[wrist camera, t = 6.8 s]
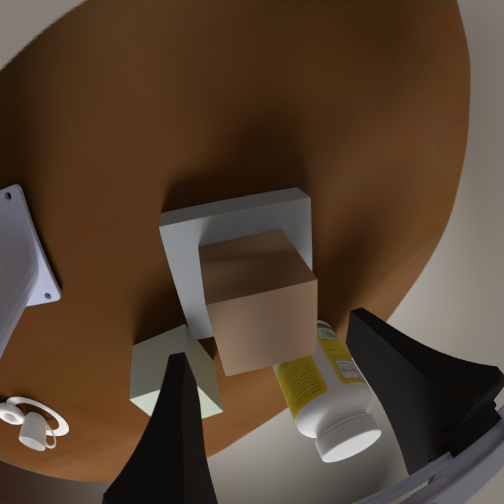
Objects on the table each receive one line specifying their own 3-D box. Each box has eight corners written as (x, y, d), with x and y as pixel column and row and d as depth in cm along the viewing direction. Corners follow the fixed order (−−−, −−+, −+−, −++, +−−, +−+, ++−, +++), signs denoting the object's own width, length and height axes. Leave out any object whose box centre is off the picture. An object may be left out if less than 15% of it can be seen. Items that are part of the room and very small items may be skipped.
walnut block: (213, 312, 18) (226, 376, 13) (197, 246, 16) (205, 305, 11) (286, 295, 18) (316, 353, 14) (281, 229, 16) (317, 279, 12)
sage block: (164, 378, 23) (167, 428, 18) (133, 345, 20) (129, 399, 16) (213, 359, 23) (223, 411, 18) (185, 323, 20) (190, 378, 16)
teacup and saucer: (-4, 404, 21) (-12, 431, 18) (9, 379, 20) (-1, 411, 16) (56, 438, 25) (52, 464, 22) (79, 419, 24) (76, 451, 21)
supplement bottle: (269, 372, 25) (308, 474, 16) (265, 327, 22) (313, 447, 13) (329, 355, 26) (380, 446, 17) (334, 308, 23) (402, 410, 14)
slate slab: (190, 315, 21) (193, 340, 19) (161, 209, 17) (158, 227, 15) (299, 291, 22) (312, 312, 20) (294, 184, 18) (310, 197, 16)
